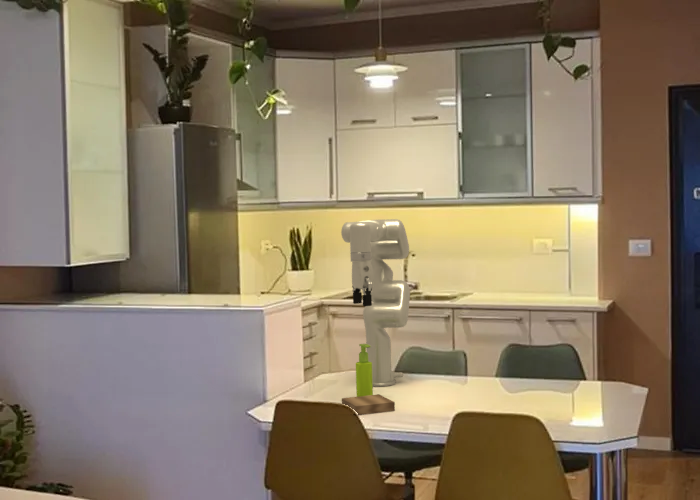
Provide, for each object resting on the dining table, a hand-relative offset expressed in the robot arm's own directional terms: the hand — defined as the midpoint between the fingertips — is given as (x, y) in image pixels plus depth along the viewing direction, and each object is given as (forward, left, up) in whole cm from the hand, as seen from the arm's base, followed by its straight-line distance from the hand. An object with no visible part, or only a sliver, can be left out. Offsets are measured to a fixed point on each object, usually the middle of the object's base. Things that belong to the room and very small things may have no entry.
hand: (362, 304), depth 323 cm
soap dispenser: (0, 0, -34) cm, 35 cm away
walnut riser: (+5, +15, -34) cm, 38 cm away
